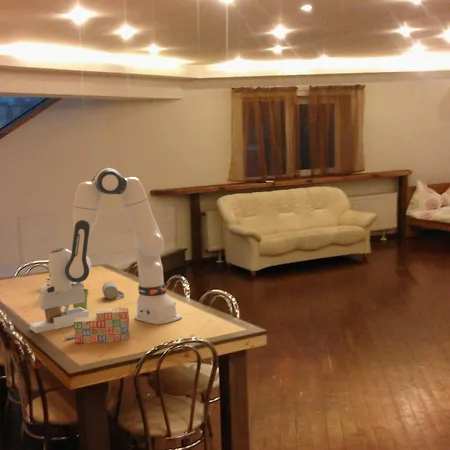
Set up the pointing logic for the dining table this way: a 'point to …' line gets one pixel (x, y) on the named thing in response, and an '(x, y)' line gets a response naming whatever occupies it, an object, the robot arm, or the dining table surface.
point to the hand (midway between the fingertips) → (63, 315)
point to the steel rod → (70, 336)
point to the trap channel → (60, 320)
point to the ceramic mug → (111, 290)
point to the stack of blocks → (103, 326)
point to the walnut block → (52, 314)
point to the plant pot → (83, 304)
